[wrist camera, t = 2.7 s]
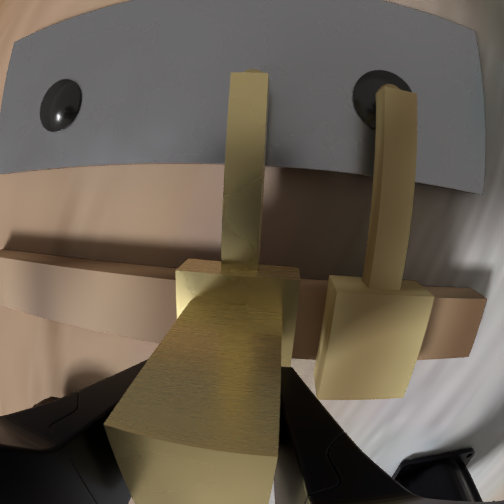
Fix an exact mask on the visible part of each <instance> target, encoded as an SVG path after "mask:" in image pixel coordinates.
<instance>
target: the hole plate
mask: <svg viewBox="0 0 504 504" xmlns="http://www.w3.org/2000/svg"><path fill="white" fill-rule="evenodd" d="M248 69H257V70H260V71H262V72H263V73H268V74H269V81H270V84H269V104H268V122H267V141H266V159H265V166H268V167H283V168H296V169H308V170H320V171H330V172H339V173H348V174H357V175H365V176H373V177H374V161H375V139H376V101H375V94H376V92H377V90H378V89H380V88H381V87H382V86H383V85H385V84H393V85H395V86H397V87H398V88H399V89H400V90H404V91H408V92H412V93H417V157H416V175H415V183H420V184H426V185H432V186H438V187H443V188H449V189H454V190H459V191H464V192H469V193H475V194H482V195H483V189H484V174H485V108H484V93H483V82H482V73H481V65H480V58H479V51H478V45H477V40H476V34H475V31H474V30H471V29H469V28H466V27H464V26H462V25H459V24H456V23H454V22H451V21H449V20H446V19H443V18H440V17H437V16H434V15H431V14H428V13H425V12H422V11H419V10H416V9H412V8H409V7H405V6H401V5H398V4H394V3H390V2H386V1H381V0H132V1H128V2H124V3H120V4H116V5H112V6H108V7H105V8H101V9H98V10H94V11H91V12H88V13H85V14H82V15H79V16H76V17H73V18H70V19H67V20H65V21H62V22H59V23H57V24H54V25H52V26H49V27H47V28H44V29H42V30H39V31H37V32H35V33H33V34H30V35H28V36H26V37H24V38H22V39H20V40H18V41H16V42H14V46H13V49H12V53H11V58H10V62H9V66H8V71H7V76H6V81H5V87H4V93H3V99H2V106H1V113H0V174H10V173H18V172H27V171H36V170H46V169H57V168H70V167H84V166H102V165H125V164H225V153H226V135H227V119H228V104H229V90H230V76H231V72H244V71H246V70H248Z"/></svg>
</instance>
